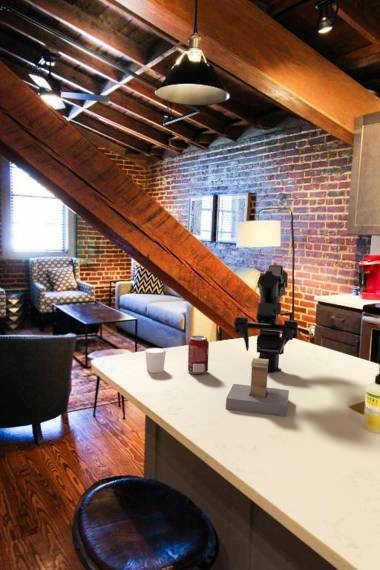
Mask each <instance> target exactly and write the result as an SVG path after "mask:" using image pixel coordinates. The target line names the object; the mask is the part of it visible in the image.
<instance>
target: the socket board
mask: <svg viewBox="0 0 380 570" xmlns="http://www.w3.org/2000/svg"><path fill="white" fill-rule="evenodd" d="M250 394H251V385H248V384H241V383H238V384H237V383H233V384H232V386H231V387H230V390H229V392H228V394H227V396H226V399H225V410H232V411H233V410H234V411H239V412H240V411H241V412H248V413H256V414H257V413H258V414H264V415H272V416H281V417H287V413H288V407H289V406H288V404H289V399H290V398H289V394H290V390H289V389H285V388H284V389H282V388H276V387H274V388H273V387H267V392H266V398H262V397H254V396H250Z"/></svg>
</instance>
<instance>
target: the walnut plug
mask: <svg viewBox="0 0 380 570" xmlns="http://www.w3.org/2000/svg"><path fill="white" fill-rule="evenodd" d="M268 361H269V359H259V357H256V358H255V357H253V358H252V360H251V374H250V375H251V376H250V386H251V394H250V396H254V397H262V398H266V392H267V388H268V373H267V372H268Z"/></svg>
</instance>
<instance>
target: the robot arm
mask: <svg viewBox="0 0 380 570" xmlns="http://www.w3.org/2000/svg"><path fill="white" fill-rule="evenodd" d="M288 284H289V273H288V272H286V270H284V266H282V265H280V264H278V265H277V264H270V265H269V266H268V270H266V271H265V273H263V274H262V275H261V276H260V277H259V278H258V281H257V288H258V289H259V290H258V291H259V292H258V293H259V296H260V298H259V302H258V303H257V311H256V316H255V320H257V321H250V320H249V317H247V316H239V315H238V316H236V317H235V318H234V320H233V321H234V323H233V325H234V332H235V333H236V334H238V336H241V337H242V339H243V340H244V345H245V350H246V351H249V348H250V346H249V345H250V342H249V341H250V340H249V339H250V335H249V334H250V333H249V330H259V334H258V335H257V337H256V353H259V356H258V358H259V359H269V361H268V372H267V374H269V373H273V372H274V373H275V372H279V371H282V368H280V367H279V362H280V356H282V355H283V354H284V351H285V345H286V344H287V343H288V342H289V341H293V339H297V338H298V335H299V334H298V333H299V332H298V331H299V322H298V321H297V320H288V319H287V320H285V319H284V323H283V324H280V323H278V322H279V315H281V314H282V302H281V298H282V297H283V296H284V295H285V294H286V289H287V288H288Z"/></svg>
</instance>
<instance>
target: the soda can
mask: <svg viewBox="0 0 380 570" xmlns="http://www.w3.org/2000/svg"><path fill="white" fill-rule="evenodd" d="M209 345H210V342H209V340H208V337H207V336H205V335H192V336H190V339H189V341H188V350H187V351H188V352H187V353H188V354H187V355H188V356H187V371H188V372H189V373H190V374H193V375H199V376H200V375H204V374H206V373H207V372H208V371H209V348H210V346H209Z"/></svg>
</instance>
